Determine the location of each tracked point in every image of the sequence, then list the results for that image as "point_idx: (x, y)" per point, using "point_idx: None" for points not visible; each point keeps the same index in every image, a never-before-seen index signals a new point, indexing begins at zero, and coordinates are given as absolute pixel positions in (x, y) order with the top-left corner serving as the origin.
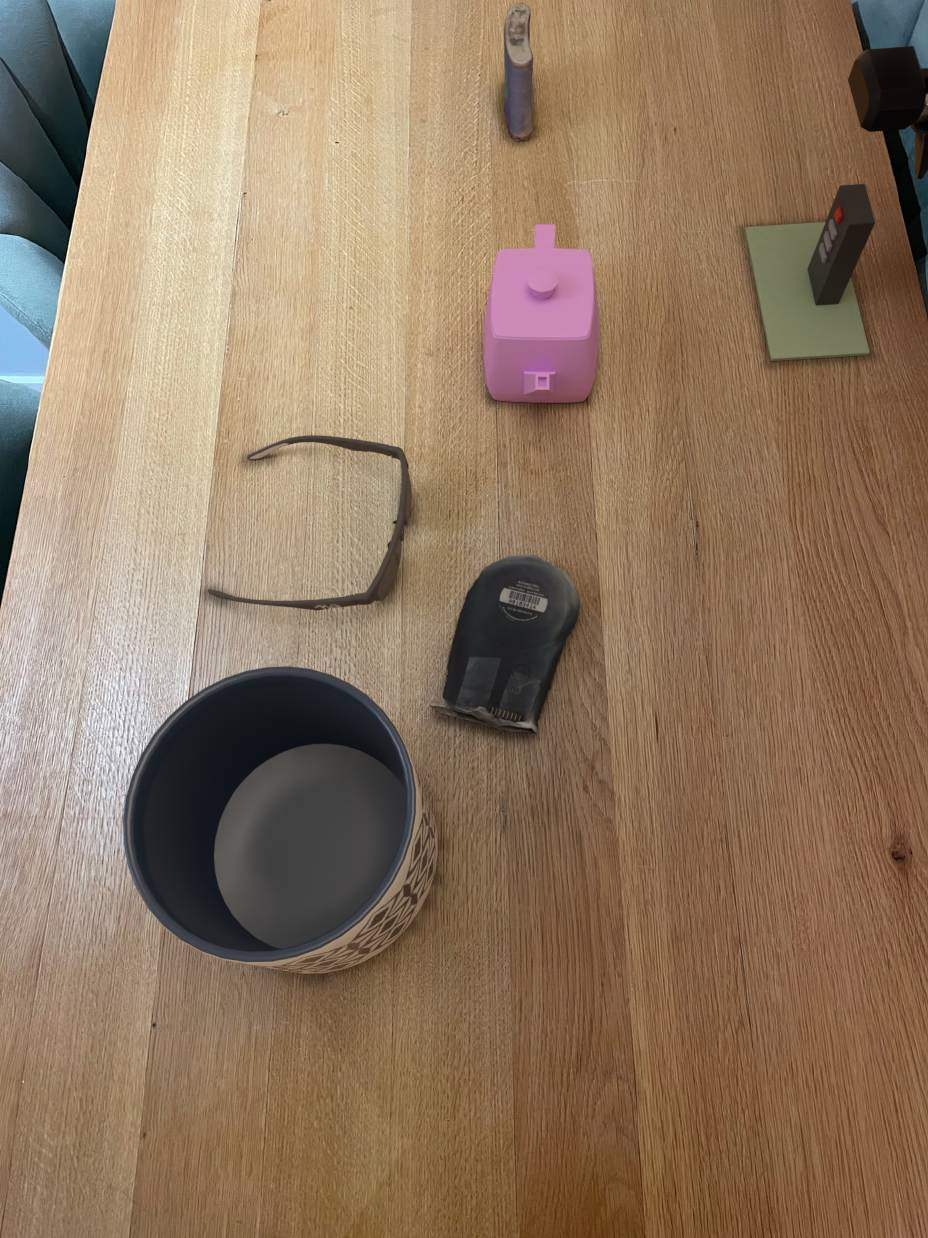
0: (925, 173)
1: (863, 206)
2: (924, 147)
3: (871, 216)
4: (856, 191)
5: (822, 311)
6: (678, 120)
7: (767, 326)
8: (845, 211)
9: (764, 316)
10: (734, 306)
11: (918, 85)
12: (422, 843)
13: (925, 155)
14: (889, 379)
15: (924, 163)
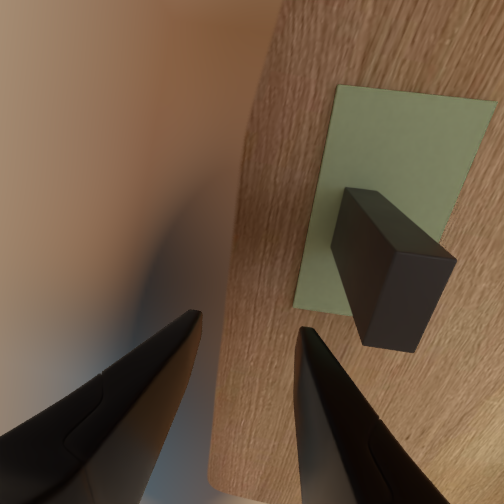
0: (304, 337)
1: (396, 297)
2: (404, 450)
3: (395, 269)
4: (391, 333)
5: (373, 178)
6: None
7: (466, 167)
8: (440, 294)
9: (459, 187)
10: (482, 216)
11: None
12: None
13: (361, 403)
14: (323, 24)
15: (337, 370)
